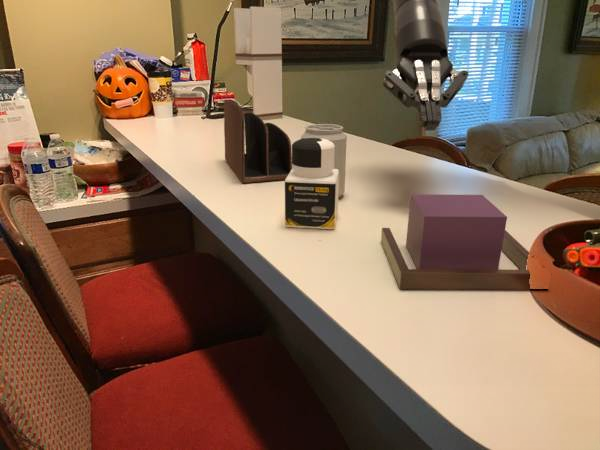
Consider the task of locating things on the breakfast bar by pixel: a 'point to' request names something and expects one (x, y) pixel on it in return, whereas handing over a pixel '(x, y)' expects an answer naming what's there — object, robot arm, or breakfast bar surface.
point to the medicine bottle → (312, 185)
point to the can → (338, 139)
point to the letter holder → (255, 146)
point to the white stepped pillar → (261, 57)
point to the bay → (459, 270)
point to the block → (454, 232)
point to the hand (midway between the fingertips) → (431, 127)
